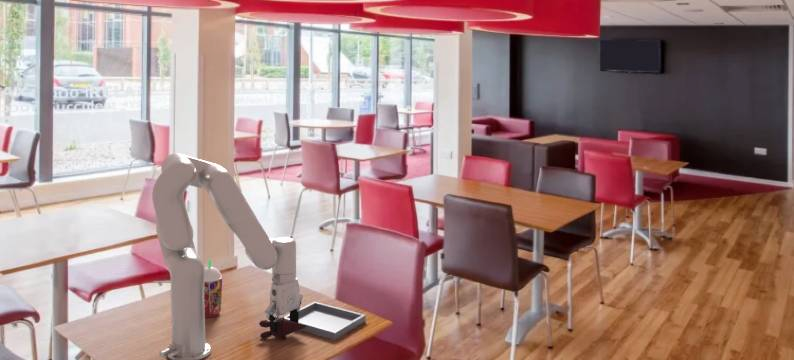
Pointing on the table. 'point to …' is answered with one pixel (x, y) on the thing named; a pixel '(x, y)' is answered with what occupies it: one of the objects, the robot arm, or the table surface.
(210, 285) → the smoothie
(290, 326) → the icecream
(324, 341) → the table surface
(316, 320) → the serving tray
